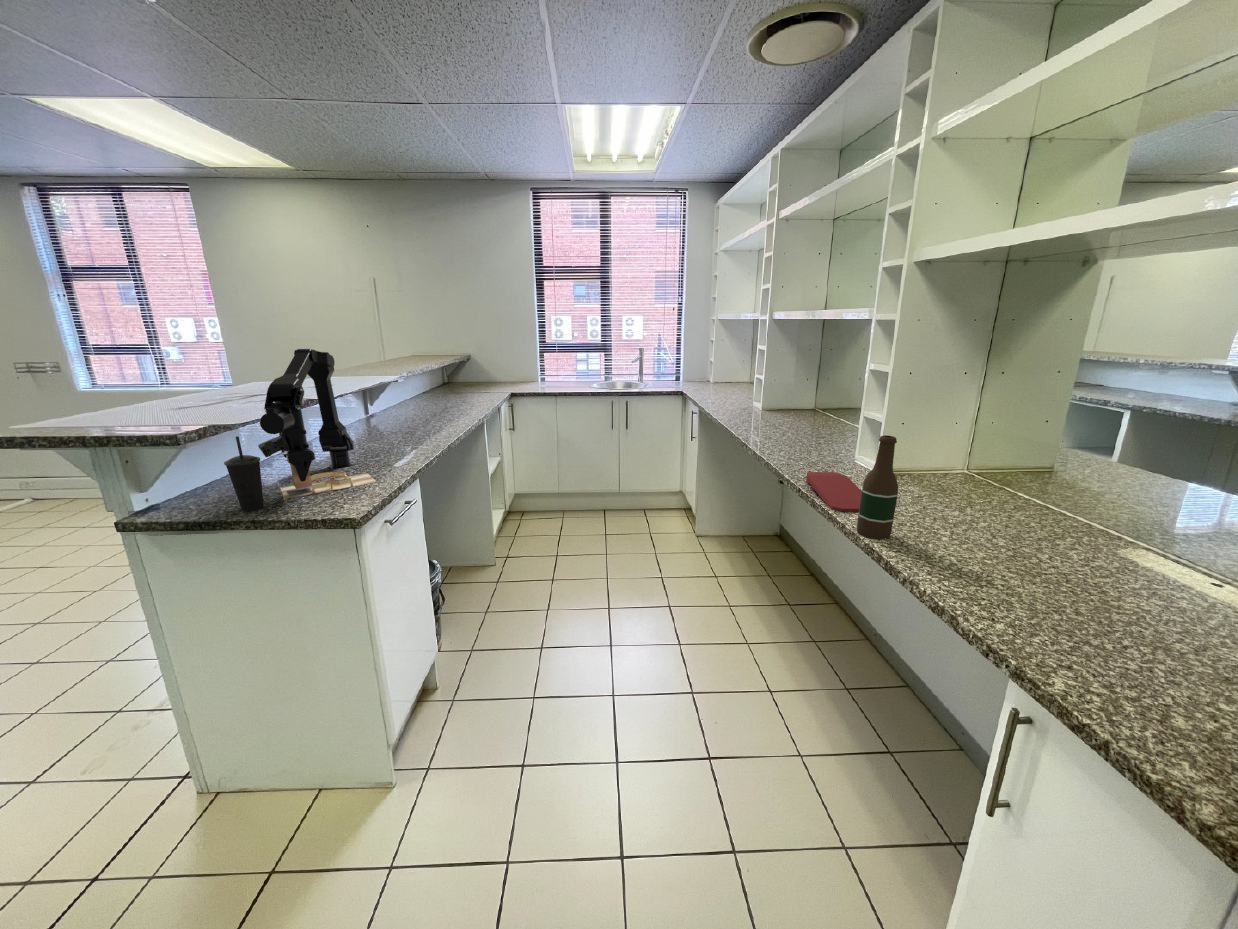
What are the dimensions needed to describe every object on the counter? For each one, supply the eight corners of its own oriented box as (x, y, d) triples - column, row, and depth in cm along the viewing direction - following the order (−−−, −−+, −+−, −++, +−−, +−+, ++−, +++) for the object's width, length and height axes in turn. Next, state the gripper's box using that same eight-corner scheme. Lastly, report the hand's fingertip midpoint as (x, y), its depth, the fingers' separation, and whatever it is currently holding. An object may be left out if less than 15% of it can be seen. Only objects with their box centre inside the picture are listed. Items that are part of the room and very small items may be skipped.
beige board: (280, 491, 144) (279, 487, 144) (368, 476, 159) (367, 472, 158) (285, 502, 135) (284, 497, 135) (377, 485, 150) (377, 481, 149)
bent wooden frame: (306, 483, 148) (304, 475, 147) (345, 477, 154) (343, 469, 154) (312, 493, 139) (311, 485, 138) (353, 486, 145) (352, 478, 145)
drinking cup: (241, 505, 132) (225, 434, 127) (273, 502, 135) (259, 432, 129) (230, 515, 125) (212, 440, 120) (265, 511, 128) (249, 438, 122)
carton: (875, 524, 131) (837, 482, 154) (879, 508, 129) (840, 469, 152) (831, 524, 131) (799, 482, 154) (834, 508, 129) (802, 469, 152)
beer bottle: (897, 540, 112) (915, 440, 105) (863, 540, 112) (879, 440, 106) (881, 527, 119) (897, 433, 113) (849, 526, 120) (863, 432, 113)
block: (294, 485, 141) (289, 462, 139) (310, 482, 143) (305, 460, 142) (296, 489, 138) (291, 465, 136) (312, 486, 140) (308, 463, 139)
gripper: (254, 425, 138) (265, 477, 142) (260, 436, 124) (272, 493, 128) (299, 420, 145) (308, 470, 149) (310, 430, 131) (320, 485, 135)
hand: (301, 479), depth 140 cm, fingers closed on block, 4 cm apart
